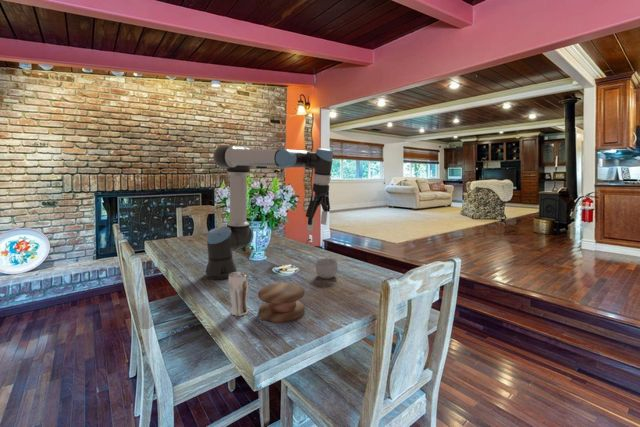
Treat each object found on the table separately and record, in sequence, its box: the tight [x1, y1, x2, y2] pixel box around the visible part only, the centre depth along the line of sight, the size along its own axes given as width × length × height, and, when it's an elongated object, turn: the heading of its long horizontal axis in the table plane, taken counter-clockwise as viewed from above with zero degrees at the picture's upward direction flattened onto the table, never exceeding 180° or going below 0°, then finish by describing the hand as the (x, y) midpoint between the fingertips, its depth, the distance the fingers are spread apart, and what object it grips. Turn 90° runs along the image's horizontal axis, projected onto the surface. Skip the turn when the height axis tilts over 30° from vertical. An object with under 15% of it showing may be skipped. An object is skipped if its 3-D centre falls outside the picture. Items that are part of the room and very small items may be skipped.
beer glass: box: [227, 270, 249, 317], centre depth 118 cm, size 7×7×15 cm
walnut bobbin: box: [257, 282, 306, 324], centre depth 118 cm, size 17×17×8 cm
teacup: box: [315, 257, 338, 280], centre depth 157 cm, size 14×11×8 cm
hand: (316, 227), depth 150 cm, fingers open, 13 cm apart
